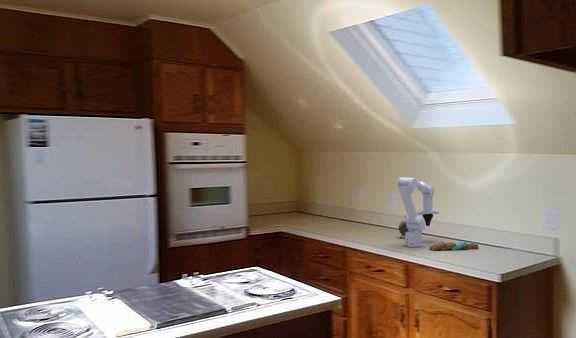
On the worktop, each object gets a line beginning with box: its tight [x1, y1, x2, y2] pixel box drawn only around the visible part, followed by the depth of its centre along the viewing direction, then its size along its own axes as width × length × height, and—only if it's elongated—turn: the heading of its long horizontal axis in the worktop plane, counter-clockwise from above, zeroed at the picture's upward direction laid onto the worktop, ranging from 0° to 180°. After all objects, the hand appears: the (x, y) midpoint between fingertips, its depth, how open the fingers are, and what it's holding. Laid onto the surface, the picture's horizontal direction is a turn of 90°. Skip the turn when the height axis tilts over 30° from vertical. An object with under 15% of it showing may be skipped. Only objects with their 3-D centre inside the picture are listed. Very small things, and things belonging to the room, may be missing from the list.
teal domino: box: [448, 240, 468, 251], centre depth 295 cm, size 2×5×9 cm
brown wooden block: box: [428, 241, 448, 252], centre depth 294 cm, size 2×5×9 cm
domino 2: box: [440, 241, 457, 252], centre depth 295 cm, size 2×5×9 cm
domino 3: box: [461, 242, 479, 249], centre depth 298 cm, size 2×5×9 cm
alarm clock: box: [398, 213, 409, 239], centre depth 332 cm, size 11×5×16 cm, turn 90°
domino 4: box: [460, 246, 480, 250], centre depth 298 cm, size 2×5×9 cm
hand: (427, 225), depth 317 cm, fingers closed
